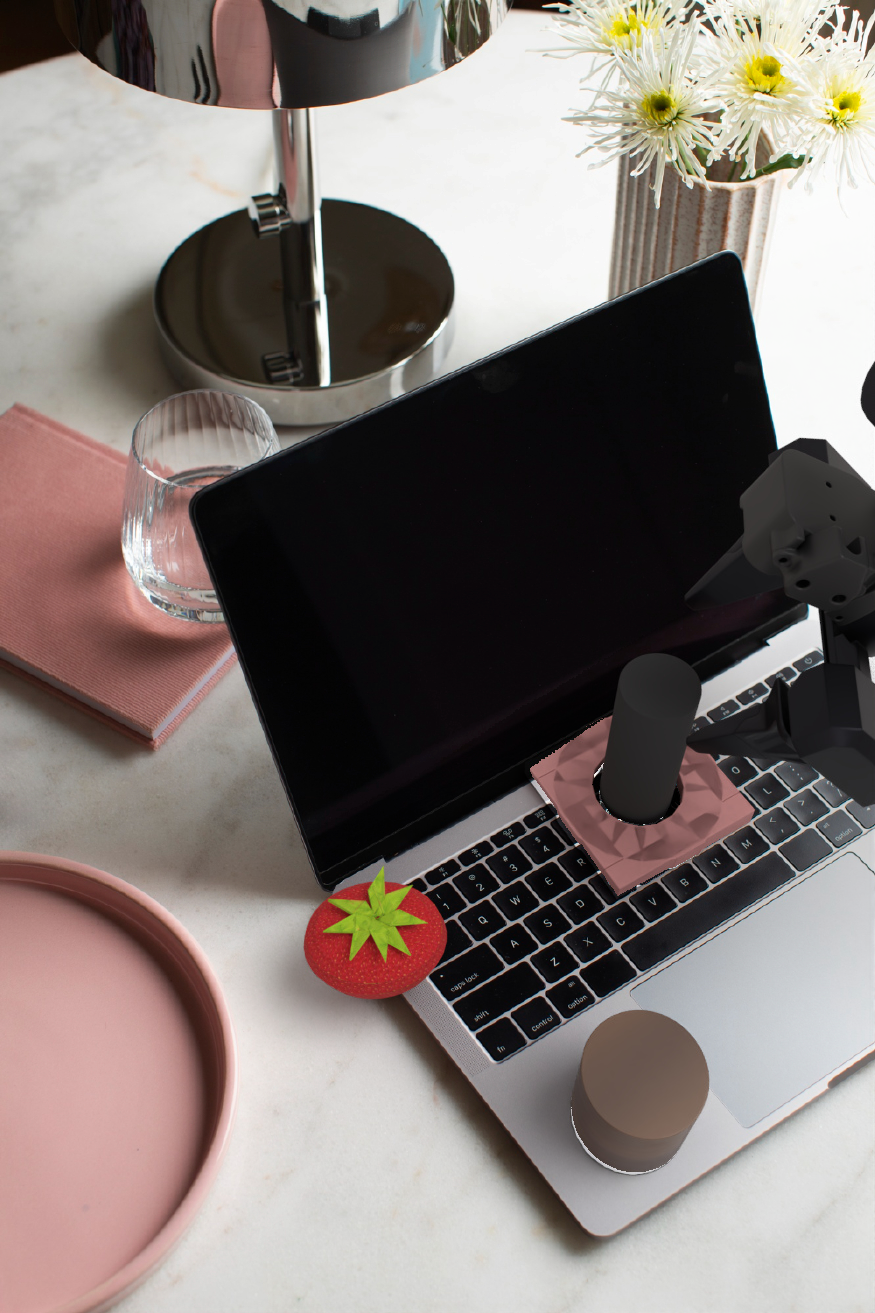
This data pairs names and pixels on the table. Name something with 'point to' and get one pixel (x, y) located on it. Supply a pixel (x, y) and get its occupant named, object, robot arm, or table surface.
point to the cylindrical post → (648, 736)
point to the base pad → (631, 848)
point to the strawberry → (375, 939)
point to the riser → (638, 1090)
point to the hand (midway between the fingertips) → (689, 671)
